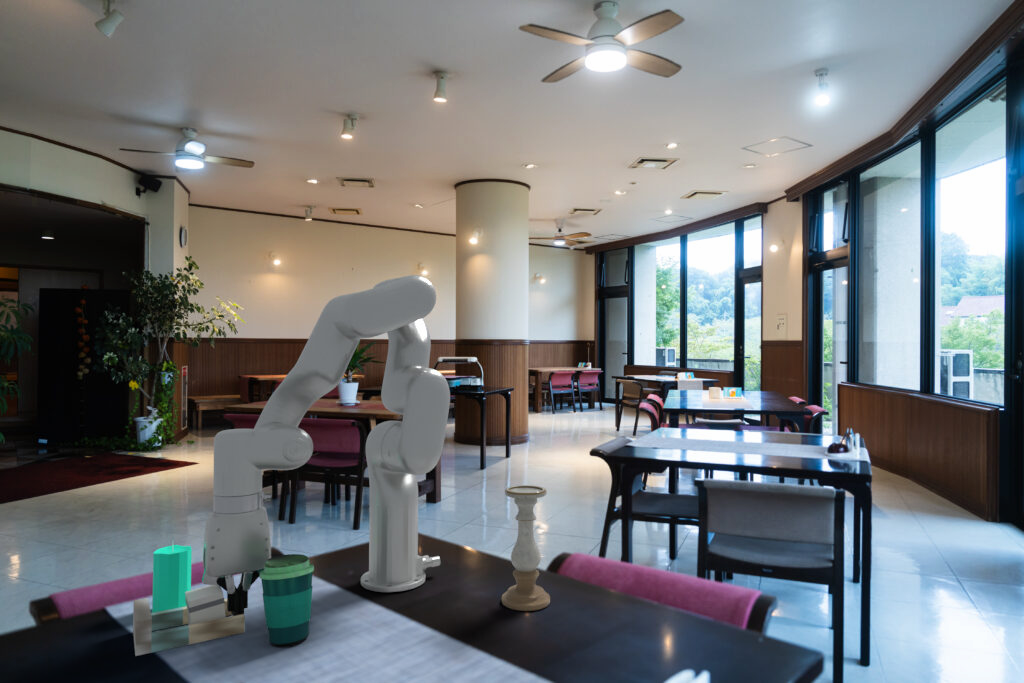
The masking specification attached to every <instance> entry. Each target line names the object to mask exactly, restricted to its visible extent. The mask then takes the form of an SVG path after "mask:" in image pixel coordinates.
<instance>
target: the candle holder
mask: <svg viewBox="0 0 1024 683" xmlns="http://www.w3.org/2000/svg"><path fill="white" fill-rule="evenodd" d="M504 495H505V496H506V497H509V498H513V500H514V501H513V502H514V504H516V506H517V508H518V512H517V514H516V515H515V517H514V519H515V520H516V521H517V523H518V524H517V525H518V526H517V537H516V541H515V543H514V546H513V548H512V549H511V550H512V551H511V554H510V561H511V564H512V565H513V567H514V568H515V569H514V570H513V571H512V576H513V577H514V579H515V584H514V585H511V586H509V588H508V589H507V591H505V592H504V593H503V594H502V596H501V603H502V605H503V606H505V607H506V608H508V609H510V610H515V611H520V612H521V611H524V612H530V611H532V612H533V611H538V610H542V609H544V608H547V607H548V606H549V605H550V603H551V596H550V594H549V593H548V592H547V591H545V590H544V588H543V587H542V586H540V585H537V584H536V581H537V578H538V577H539V575H540V572H539V570H537V568H538V566H539V565H540V564H541V560H542V559H541V558H542V556H541V552H540V548H539V547H538V545H537V541H536V539H535V532H534V531H535V530H534V522H535V520H537V516H536V514H535V513H534V508H535V506H536V504H537V503H538V499H539V498H543V497H545V496H547V488H546V487H543V486H538V485H529V484H528V485H526V484H525V485H524V484H523V485H520V484H519V485H514V486H509V487H506V488H505V491H504Z"/></svg>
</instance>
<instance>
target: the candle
mask: <svg viewBox="0 0 1024 683" xmlns="http://www.w3.org/2000/svg"><path fill="white" fill-rule="evenodd" d="M192 551H193V550H192V546H191V545H179V544H174V540H172V545H168V546H164V547H161V548H158V549H156V550H155V551H153V554H152V555H153V556H152V557H153V559H152V561H153V562H152V602H151V603H152V605H151V608H152V609H151V613H154V612H159V611H164V610H170V609H175V608H180V607H186V601H185V598H186V597H185V592H187V591H191V590H192Z"/></svg>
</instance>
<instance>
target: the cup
mask: <svg viewBox="0 0 1024 683" xmlns="http://www.w3.org/2000/svg"><path fill="white" fill-rule="evenodd" d="M314 571H315V566H314V564H312V563H311V562H310V559H309V557H308V556H307V555H304V554H298V553H295V554H282V555H277V556H273V557H271V558H270V559H268V560H267V561H266V563H265V566H264V570H263V571H261V573H260V577H259V579H261V585H262V602H263V608H264V617H265V623H266V628H267V635H268V642H269V643H270V645H271V646H273V647H276V648H288V647H289V648H290V647H294V646H297V645H300V644H303V643H304V641H306V640H307V639H308V636H309V632H310V620H311V617H312V616H311V615H312V613H311V612H312V601H313V600H312V598H313V584H312V583H313V572H314Z"/></svg>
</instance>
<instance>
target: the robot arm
mask: <svg viewBox="0 0 1024 683" xmlns="http://www.w3.org/2000/svg"><path fill="white" fill-rule="evenodd" d="M436 292H437V291H436V289H435V287H434V285H433V283H432V282H431V281H430V280H429V279H427V278H426V277H424V276H421V275H417V274H414V275H413V274H409V275H405V276H400V277H395V278H391V279H389V278H388V279H386V280H383V281H380V282H378V283H377V284H375V285H374V286H373V287H372V288H369V289H366V290H361V291H359V292H352V293H348V294H342V295H337V296H335V297H334V298H332V299H330V300H329V301H328V302H327V303H326V304H325V306H324V307H323V309H322V312H321V313H320V315H319V317H318V319H317V320H316V323H315V325H314V327H313V329H312V332H311V333H310V336H309V338H308V339H307V341H306V343H305V345H304V348H303V350H302V351H301V354H300V355H299V357H298V359H297V362H296V363H295V365H294V366H293V368H291V370H290V371H289V372H288V373H287V375H286V376H285V377H284V379H283V380H282V382H281V383H280V384H278V387H276V389H275V390H274V391H273V393H272V394H271V396H270V397H269V399H268V400H267V401H266V404H265V405H264V407H263V409H262V412H261V413H260V415H259V417H258V419H257V421H256V423H255V425H254V428H233V429H225V430H224V429H223V430H221V431H219V432H217V433H216V435H215V436H214V439H213V484H212V485H213V486H212V487H213V489H212V490H213V503H212V504H213V505H212V506H213V510H212V511H211V512H209V513H207V517H206V522H205V528H204V535H203V536H204V537H203V550H202V568H203V570H204V571H203V573H202V574H203V575H202V577H201V581H202V584H203V585H205V586H209V585H219V586H220V587H221V589H223V591H226V592H227V594H226V599H227V610H228V612H230V611H231V613H232V615H231V616H236V615H241V614H244V615H245V610H246V609H248V607H249V606H248V605H249V602H248V601H249V596H248V595H249V590H250V589H251V586H252V585H253V584H254V583H255V582H256V581H257V580H258V578H260V573H261V571H263V570H264V566H265V563H266V561H267V560H268V559H270V558H272V542H271V533H270V523H269V517H268V512H267V508H266V507H265V506H264V504H265V503H267V502H268V501H269V502H271V500H272V493H271V492H264V491H263V471H267V470H268V471H270V470H271V471H273V470H274V471H289V470H295V469H299V468H300V467H302V466H304V465H305V464H306V463H308V461H309V460H310V459H311V457H312V455H313V452H314V442H313V439H312V437H311V436H310V434H309V433H307V431H305V430H304V429H302V428H300V427H299V425H300V423H301V422H302V420H303V418H304V416H305V415H306V413H307V412H308V410H309V409H310V408H311V407H312V406H313V405H314V404H315V403H316V402H317V401H318V400H319V399H321V398H322V397H323V396H325V395H327V394H328V393H330V392H331V391H332V390H334V389H335V388H336V387H337V386H338V385H339V384H340V383H341V381H342V380H343V379H344V378H343V377H344V375H345V372H346V371H347V368H348V366H349V363H350V362H351V359H352V358H353V355H354V353H355V351H356V349H357V347H358V345H359V344H360V341H361V339H371V338H374V337H378V336H380V335H383V334H384V335H385V334H387V338H388V349H387V357H386V363H385V369H384V374H383V378H382V379H383V380H382V385H381V393H380V397H381V402H382V404H383V407H384V409H386V410H388V411H389V412H392V413H394V414H398V415H402V421H400V420H387V421H383V422H381V423H378V424H376V425H375V426H374V427H373V428H372V430H371V431H370V432H369V434H368V435H367V438H366V442H365V457H366V464H367V471H368V480H369V481H368V482H369V510H368V512H369V520H368V521H369V522H368V524H369V528H368V530H369V533H368V535H369V536H368V539H369V541H368V545H369V546H368V571H366V572H364V573H363V574H362V576H361V577H360V585H361V586H362V588H364V589H366V590H369V591H372V592H378V593H397V592H404V591H409V590H412V589H415V588H418V587H420V586H422V585H423V584H424V583H425V582H426V572H425V571H426V570H427V568H434V567H439V566H440V565H441V558H440V556H439V555H436V556H429V554H425V555H422V556H421V555H419V484H418V478H417V476H421V475H425V474H426V475H427V473H430V472H431V471H433V469H435V467H436V466H437V464H438V462H439V460H440V459H441V455H442V453H443V449H444V443H445V439H446V438H445V437H446V431H447V425H448V419H449V418H448V417H449V410H450V404H451V391H450V387H449V386H450V385H449V384H448V380H447V379H446V377H445V376H444V375H443V374H442V373H441V372H440V371H438V370H437V369H434V368H430V367H429V366H430V357H431V350H432V349H431V348H432V344H431V343H432V342H431V335H430V332H429V328H428V327H427V324H426V323H425V321H424V318H426V317H427V316H428V315H429V314H430V313H431V312H433V310H434V308H435V305H436V301H437V293H436ZM238 574H240V580H239V584H238V585H237V587H236V585H235V579H234V578H235V577H234V575H238Z"/></svg>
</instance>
